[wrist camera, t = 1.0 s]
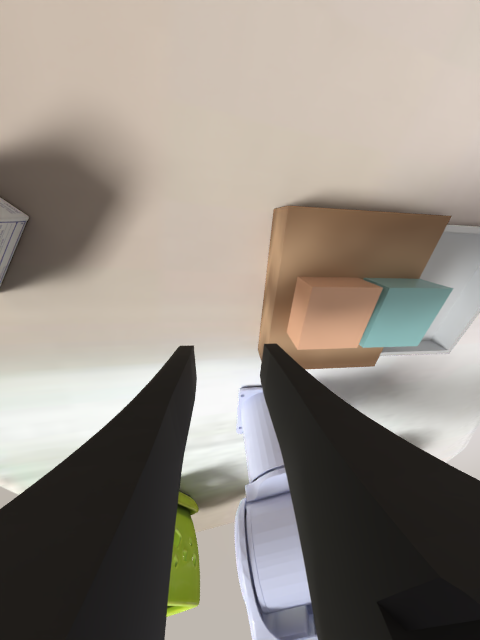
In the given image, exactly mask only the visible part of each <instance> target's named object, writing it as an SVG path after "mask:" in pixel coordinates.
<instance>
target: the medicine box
mask: <svg viewBox="0 0 480 640" xmlns="http://www.w3.org/2000/svg"><path fill="white" fill-rule="evenodd" d="M28 219H29V217H28V216H27V215H26V214H25V213H23V212H21V211H20V210H18V209H17V208H15V207H14V206H12V205H11V204H9V203H8V202H6V201H5V200H3V199H2V198H0V286H1V283H2V281H3V278H4V276H5V273H6V271H7V268H8V266H9V263H10V261H11V259H12V256H13V254H14V251H15V249H16V246H17V244H18V242H19V239H20V237H21V234H22V232H23V229H24V227H25V224H26V222H27V220H28Z"/></svg>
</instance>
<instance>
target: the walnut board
mask: <svg viewBox="0 0 480 640" xmlns="http://www.w3.org/2000/svg"><path fill="white" fill-rule="evenodd" d="M450 218H451V216H443V215H427V214H411V213H396V212H380V211H364V210H348V209H333V208H317V207H301V206H285V207H281V208H276V209H274V212H273V221H272V230H271V239H270V247H269V256H268V265H267V274H266V283H265V291H264V300H263V309H262V318H261V327H260V336H259V344H258V351H259V355H260V358H261V361H262V356H263V348H264V344H273V343H277V344H278V345H279V346H280V347H281V348H282V349H283V350H284V351H285V352H286V353H287V354H288V355H290V356H291V357H292V358H293V359H294V360H295V361H296V362H297V363H298V364H299V365H300V366H301V367H303V368H304V369H323V368H346V367H369V366H375V364H376V362H377V360H378V358H379V356H380V354H381V352H382V350H383V348H384V347H372V348H363V347H361V346H360V345H358V347H357V348H340V349H307V350H297V348H296V347H295V345H294V343H293V342H292V340H291V339H290V337H289V335H288V334H287V328H288V323H289V318H290V313H291V308H292V303H293V298H294V292H295V287H296V282H297V277H348V278H360V279H364V278H407V279H419V278H420V276H421V274H422V272H423V271H424V269H425V267H426V265H427V263H428V261H429V259H430V257H431V255H432V253H433V251H434V249H435V247H436V245H437V243H438V241H439V239H440V238H441V236H442V234H443V232H444V230H445V228H446V226H447V224H448V222H449V220H450Z"/></svg>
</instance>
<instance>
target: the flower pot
mask: <svg viewBox="0 0 480 640" xmlns="http://www.w3.org/2000/svg"><path fill="white" fill-rule="evenodd" d="M197 512H198V506H197V504H196V503H195V501H194V500H193V499H192V498H191V497H190V496H187V495H185V494H183V493H181V492H179V496H178V505H177V515H176V524H175V533H174V543H173V553H172V563H171V573H170V583H169V594H168V605H167V615H166V617H168V616H171V615H174V614H177V613H180V612H183V611H186V610H189V609H191V608H194V607H196V606H198V604H199V601H200V571H199V570H200V569H199V554H198V547H197V539H196V534H195V529H194V525H193V522H192V519H191V516H190V515H193V514H195V513H197ZM190 544H191V545H190ZM183 556H184V559H183ZM192 557H193V561H192Z"/></svg>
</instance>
